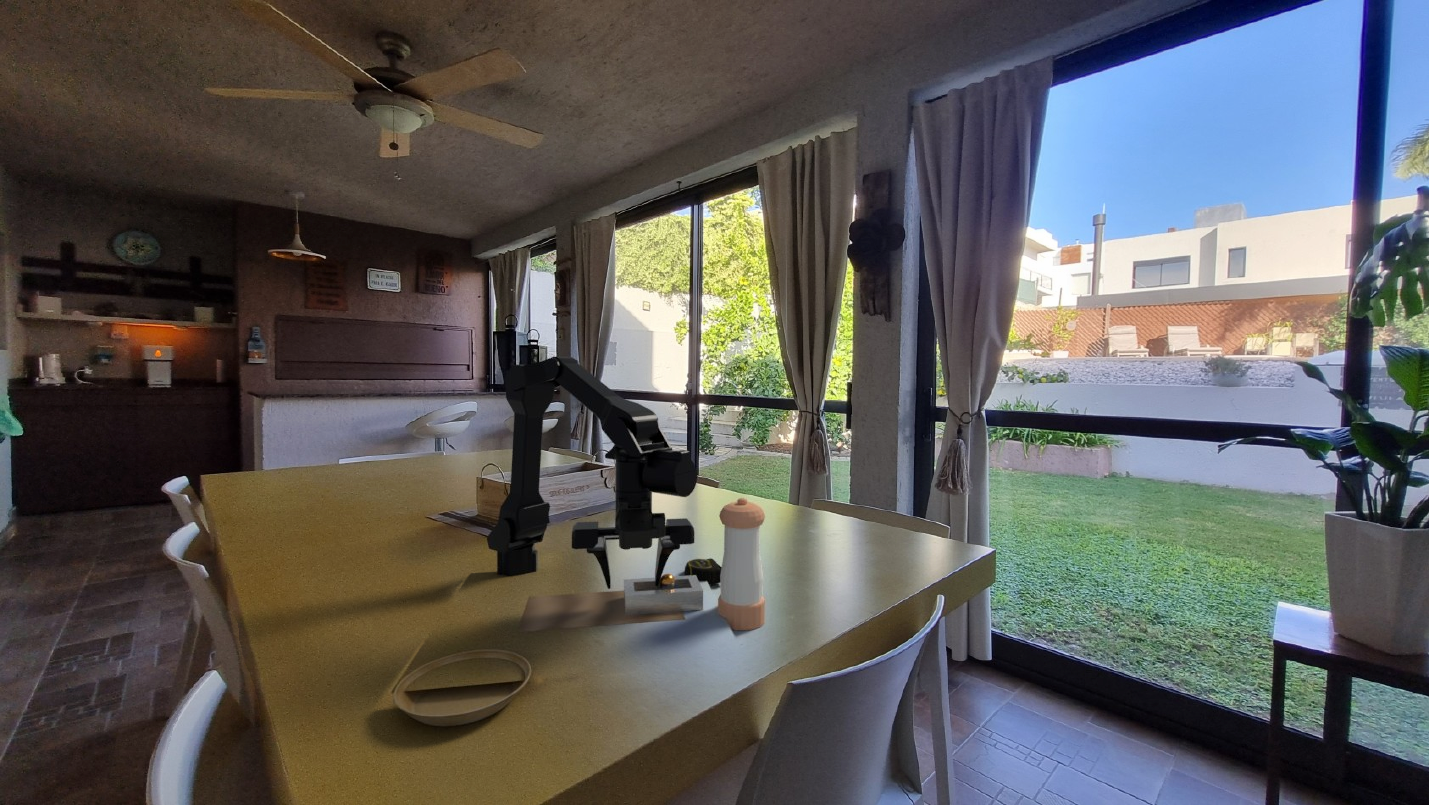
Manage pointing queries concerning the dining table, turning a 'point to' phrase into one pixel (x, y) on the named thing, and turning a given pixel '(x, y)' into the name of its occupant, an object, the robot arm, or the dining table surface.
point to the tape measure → (704, 570)
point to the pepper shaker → (742, 566)
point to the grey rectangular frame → (662, 596)
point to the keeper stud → (667, 582)
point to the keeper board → (584, 612)
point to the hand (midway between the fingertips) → (633, 586)
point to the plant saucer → (459, 693)
